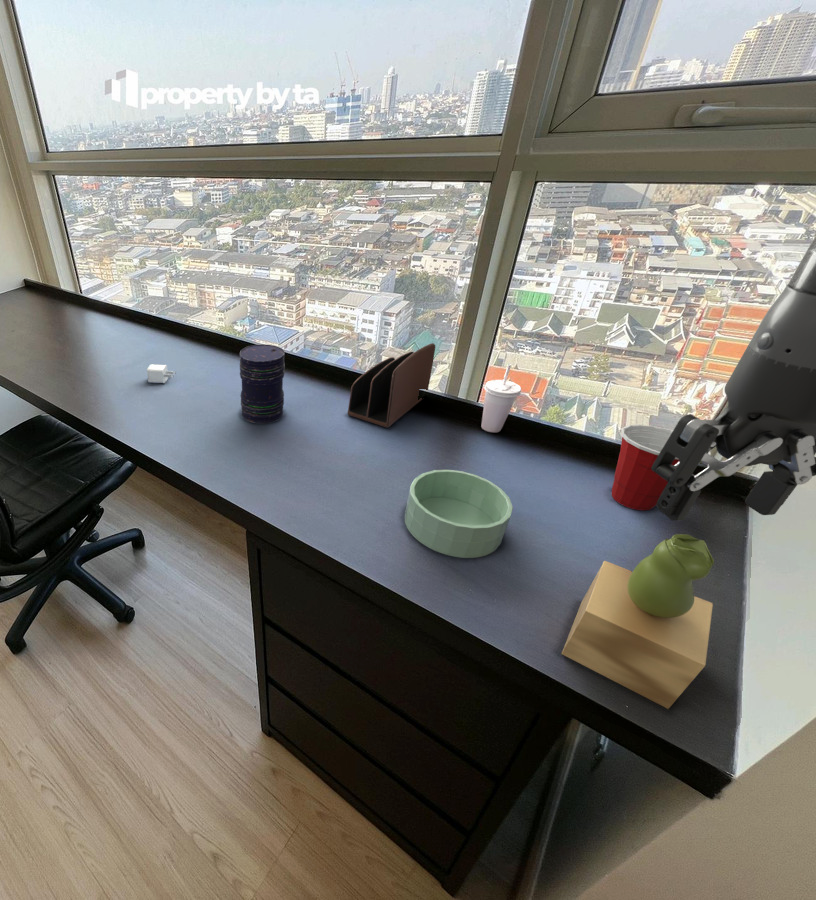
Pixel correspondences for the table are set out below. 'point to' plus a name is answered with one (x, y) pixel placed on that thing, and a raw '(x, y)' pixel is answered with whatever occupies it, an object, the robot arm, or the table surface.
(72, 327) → the table surface
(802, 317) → the robot arm
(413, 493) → the pot
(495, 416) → the smoothie
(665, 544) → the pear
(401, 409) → the letter holder
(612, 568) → the block
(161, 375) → the usb wall charger
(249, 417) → the dark blue canister
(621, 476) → the plastic cup
